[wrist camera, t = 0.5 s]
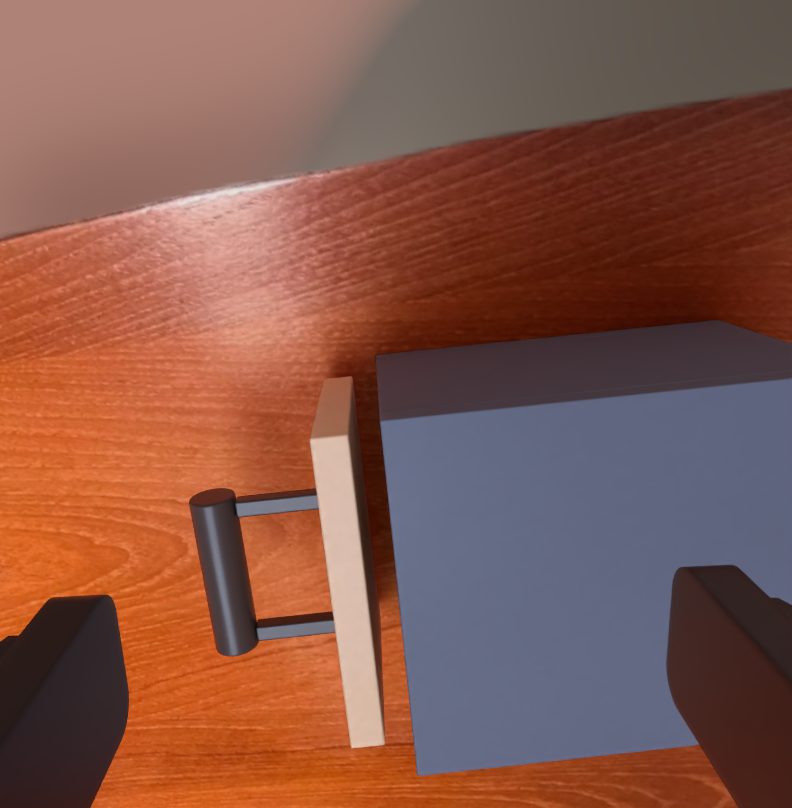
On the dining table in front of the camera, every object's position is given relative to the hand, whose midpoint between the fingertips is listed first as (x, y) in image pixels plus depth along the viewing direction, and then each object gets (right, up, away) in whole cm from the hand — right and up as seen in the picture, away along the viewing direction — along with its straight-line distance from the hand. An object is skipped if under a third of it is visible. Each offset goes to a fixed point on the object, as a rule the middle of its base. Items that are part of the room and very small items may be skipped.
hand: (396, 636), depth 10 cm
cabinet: (+7, 0, +21) cm, 23 cm away
